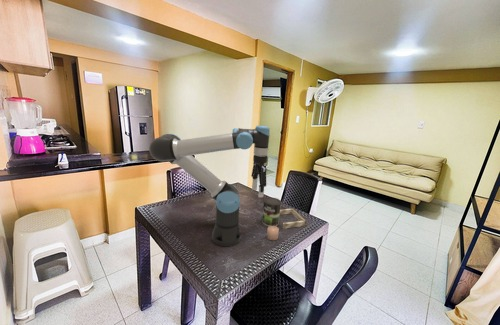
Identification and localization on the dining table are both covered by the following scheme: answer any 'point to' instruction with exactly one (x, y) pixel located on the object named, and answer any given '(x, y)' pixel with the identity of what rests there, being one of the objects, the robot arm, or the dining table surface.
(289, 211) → the corral
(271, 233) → the tan rounded block
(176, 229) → the dining table surface
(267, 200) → the coffee can
